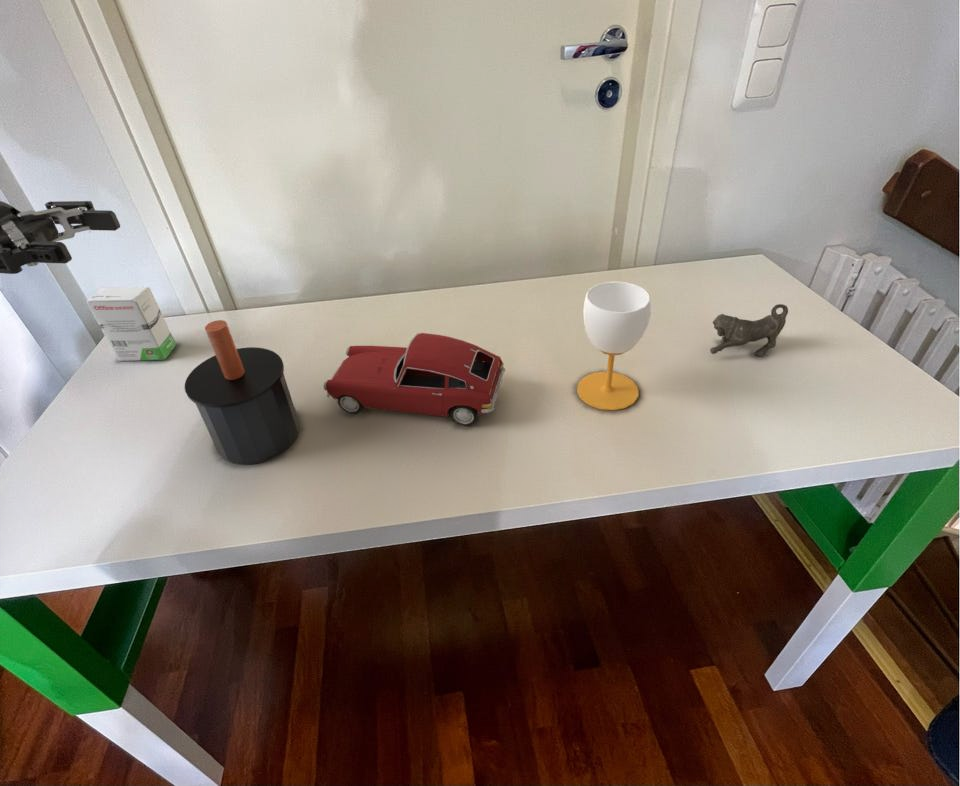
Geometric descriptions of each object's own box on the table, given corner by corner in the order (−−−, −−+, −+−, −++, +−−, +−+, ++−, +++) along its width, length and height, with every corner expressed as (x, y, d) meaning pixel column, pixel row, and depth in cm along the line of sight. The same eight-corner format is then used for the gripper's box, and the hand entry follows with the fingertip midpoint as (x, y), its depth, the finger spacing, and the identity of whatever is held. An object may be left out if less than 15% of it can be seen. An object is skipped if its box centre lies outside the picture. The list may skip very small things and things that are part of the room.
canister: (209, 470, 80) (181, 411, 73) (224, 415, 88) (200, 358, 82) (296, 458, 81) (275, 398, 74) (302, 405, 89) (284, 347, 83)
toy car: (353, 368, 96) (341, 315, 90) (507, 382, 91) (505, 327, 85) (325, 413, 88) (310, 357, 81) (493, 431, 83) (490, 374, 77)
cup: (573, 374, 92) (578, 281, 82) (631, 371, 92) (644, 278, 82) (581, 412, 85) (588, 316, 75) (645, 409, 85) (661, 312, 75)
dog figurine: (767, 334, 98) (780, 294, 93) (785, 354, 93) (798, 313, 89) (696, 341, 97) (705, 301, 93) (710, 361, 93) (720, 321, 88)
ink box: (178, 344, 104) (151, 284, 97) (164, 361, 100) (136, 300, 93) (131, 344, 105) (101, 285, 97) (116, 361, 101) (83, 300, 93)
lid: (177, 418, 73) (149, 361, 68) (198, 360, 82) (175, 306, 77) (280, 404, 74) (261, 347, 69) (289, 348, 84) (273, 294, 78)
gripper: (-107, 227, 62) (29, 230, 59) (-2, 179, 73) (117, 180, 70) (-62, 291, 67) (65, 296, 64) (30, 237, 77) (143, 239, 75)
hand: (92, 235), depth 67 cm, fingers open, 8 cm apart
